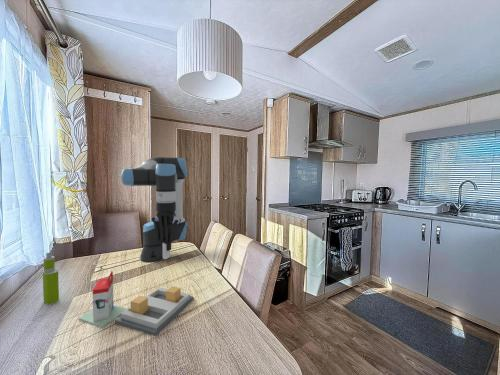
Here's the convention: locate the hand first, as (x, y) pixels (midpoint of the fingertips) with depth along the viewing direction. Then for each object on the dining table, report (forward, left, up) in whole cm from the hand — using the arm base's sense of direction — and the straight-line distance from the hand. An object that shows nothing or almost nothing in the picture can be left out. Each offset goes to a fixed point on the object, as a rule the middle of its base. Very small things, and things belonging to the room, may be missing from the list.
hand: (166, 257), depth 87 cm
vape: (+16, -45, -19) cm, 51 cm away
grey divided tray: (+6, +1, -19) cm, 20 cm away
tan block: (+1, +4, -17) cm, 18 cm away
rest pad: (+15, -16, -19) cm, 29 cm away
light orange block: (+11, -3, -17) cm, 21 cm away
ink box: (+15, -16, -18) cm, 29 cm away
